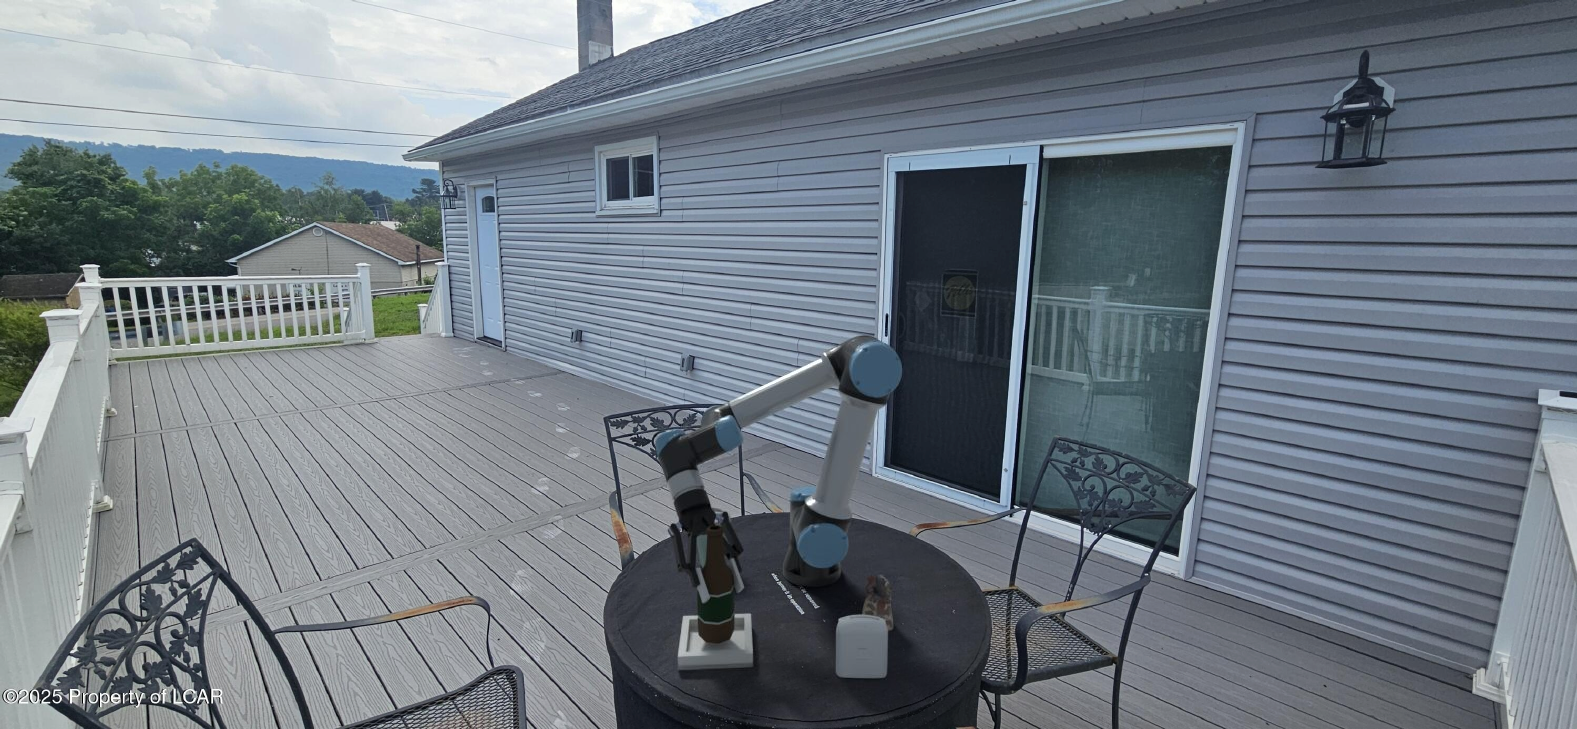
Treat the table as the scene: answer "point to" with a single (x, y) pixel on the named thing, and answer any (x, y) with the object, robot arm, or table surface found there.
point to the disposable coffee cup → (703, 538)
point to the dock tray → (715, 646)
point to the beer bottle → (716, 592)
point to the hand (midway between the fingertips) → (723, 595)
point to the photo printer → (861, 647)
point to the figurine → (879, 599)
